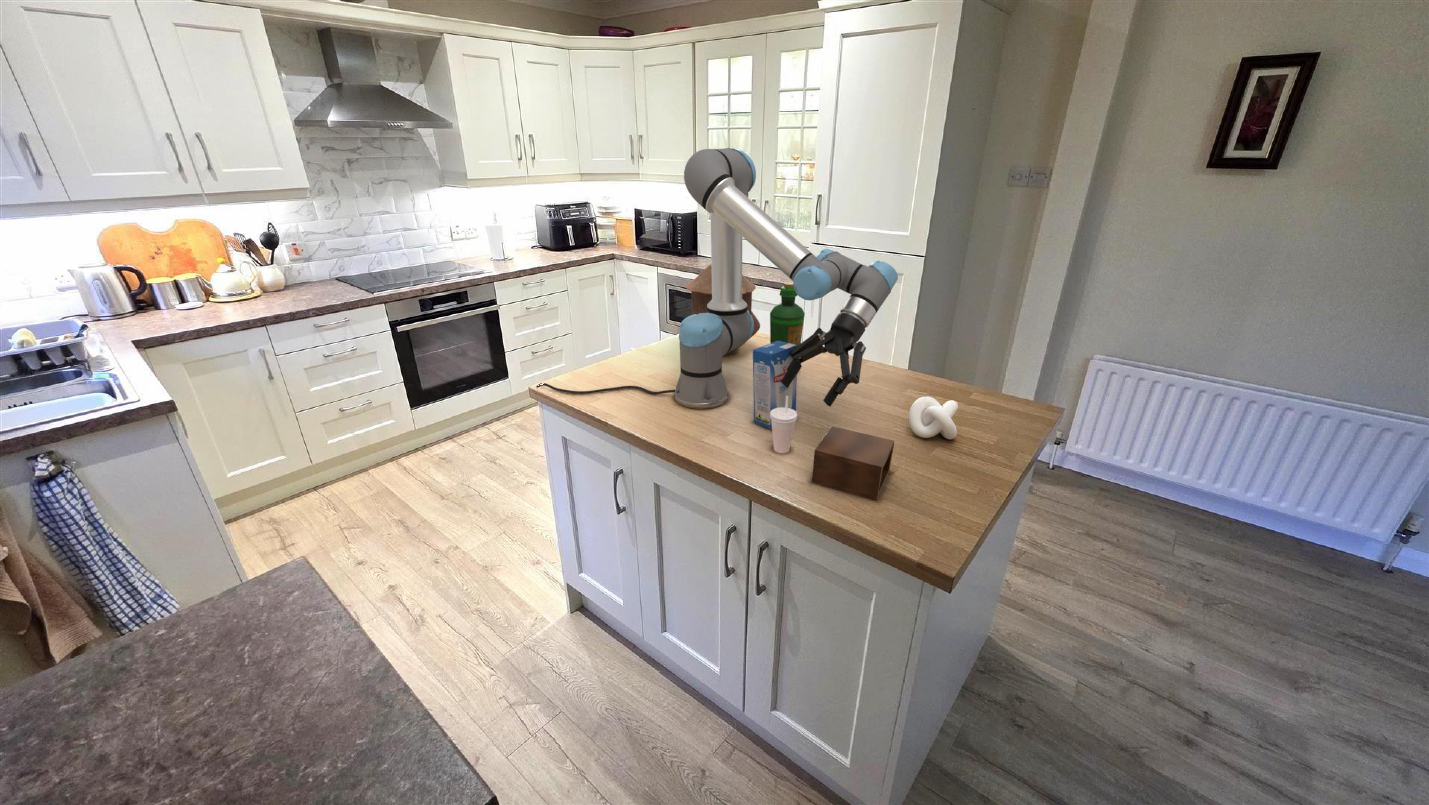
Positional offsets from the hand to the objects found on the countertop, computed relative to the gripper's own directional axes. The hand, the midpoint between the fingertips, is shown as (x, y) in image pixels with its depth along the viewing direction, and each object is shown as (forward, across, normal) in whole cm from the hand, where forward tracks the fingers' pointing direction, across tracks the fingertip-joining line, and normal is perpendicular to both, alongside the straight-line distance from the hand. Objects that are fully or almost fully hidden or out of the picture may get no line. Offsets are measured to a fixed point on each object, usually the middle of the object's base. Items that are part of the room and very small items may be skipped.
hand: (804, 394), depth 129 cm
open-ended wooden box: (+11, -18, -7) cm, 22 cm away
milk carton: (+7, +12, -11) cm, 18 cm away
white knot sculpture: (-12, -18, -30) cm, 37 cm away
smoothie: (+14, 0, -5) cm, 14 cm away
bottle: (-12, +36, -30) cm, 48 cm away
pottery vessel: (-9, +62, -27) cm, 68 cm away
